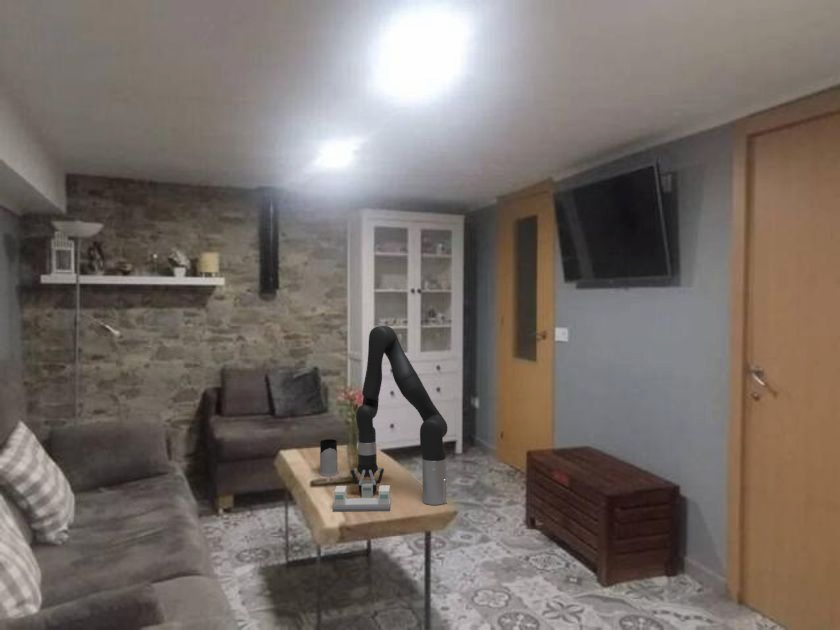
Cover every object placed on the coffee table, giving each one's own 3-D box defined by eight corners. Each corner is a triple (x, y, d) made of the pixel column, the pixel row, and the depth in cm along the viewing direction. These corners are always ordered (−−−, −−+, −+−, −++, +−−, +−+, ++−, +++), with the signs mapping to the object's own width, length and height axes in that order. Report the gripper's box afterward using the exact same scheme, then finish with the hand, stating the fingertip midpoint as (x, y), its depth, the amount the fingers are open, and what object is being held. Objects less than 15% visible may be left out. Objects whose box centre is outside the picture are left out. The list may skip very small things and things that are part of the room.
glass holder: (320, 477, 269) (320, 444, 269) (316, 468, 283) (316, 437, 282) (339, 475, 272) (339, 442, 271) (335, 466, 285) (334, 435, 285)
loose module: (373, 491, 248) (373, 479, 248) (372, 497, 241) (372, 485, 241) (363, 492, 248) (363, 480, 248) (361, 497, 241) (361, 485, 241)
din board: (391, 500, 238) (390, 483, 237) (389, 511, 226) (389, 493, 225) (336, 500, 237) (336, 484, 237) (332, 511, 225) (332, 494, 225)
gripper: (385, 449, 248) (385, 490, 248) (350, 450, 248) (351, 490, 248) (384, 454, 240) (384, 496, 241) (348, 454, 240) (349, 496, 241)
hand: (367, 493), depth 244 cm, fingers closed on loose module, 4 cm apart
